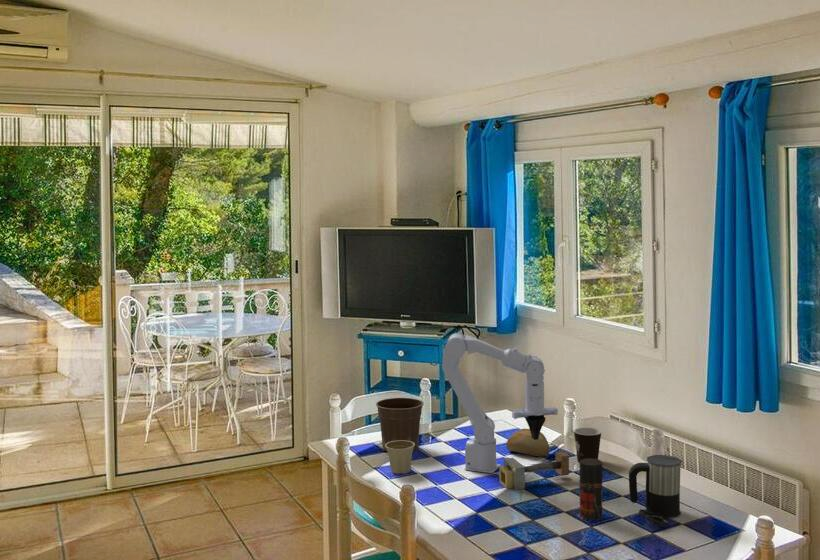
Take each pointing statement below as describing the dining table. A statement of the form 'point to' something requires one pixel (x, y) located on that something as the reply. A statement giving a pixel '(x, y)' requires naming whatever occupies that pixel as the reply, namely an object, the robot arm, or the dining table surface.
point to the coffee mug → (587, 443)
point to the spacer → (506, 476)
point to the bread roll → (528, 443)
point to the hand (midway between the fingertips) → (535, 438)
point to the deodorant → (591, 489)
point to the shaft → (552, 465)
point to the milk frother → (658, 487)
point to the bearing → (516, 472)
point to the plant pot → (400, 419)
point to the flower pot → (400, 455)
